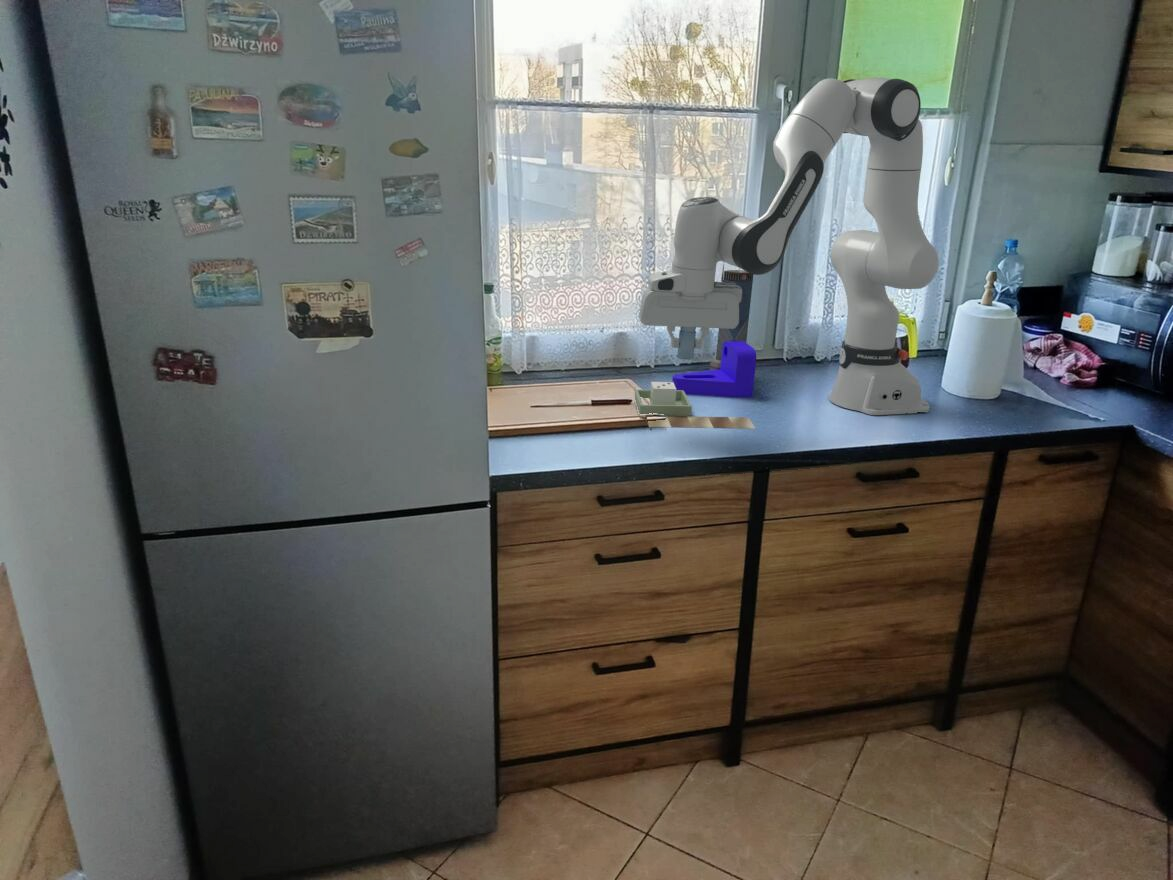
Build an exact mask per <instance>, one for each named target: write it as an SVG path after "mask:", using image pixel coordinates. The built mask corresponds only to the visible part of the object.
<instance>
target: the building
mask: <svg viewBox="0 0 1173 880" xmlns="http://www.w3.org/2000/svg"><path fill="white" fill-rule="evenodd" d="M722 266H723V267H722V273H721V280H720V282H724V283H731V282H732V283H736V285H738V286H740V287H741V289H742V299H741V302H740V303H739V324H738V325H737V327H736V328H734V329H724V328H718V334H717V346H716V353H715V354H716V356H715V359H713V360H710V361H709V370H718V369H720V367H721V356H722V346H723V343H724V342H725V341H744V342H746V343H747V341H748V339H747V338H748V329H749V321H750V311H751V302H752V301H751V300H752V291H753V282H754V274H751V273H749V272H747V271H745V270H743V269H739V270H738V269H728V270H724V269H725V264H722ZM725 288H726V287H725ZM736 288H738V287H736Z"/></svg>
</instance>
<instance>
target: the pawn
mask: <svg viewBox="0 0 1173 880" xmlns="http://www.w3.org/2000/svg"><path fill="white" fill-rule="evenodd" d="M679 328H680V329H679V332H678V338H679V340H680V341H679V348H677V351H676V352H677V353H676V354H677V355H676V357H677V358H678V359H680V360H685V361H686V360H687V361H689V360H694V357H695V339H697V338H696V336H697V331H696V330H697V327H679Z"/></svg>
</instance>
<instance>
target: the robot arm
mask: <svg viewBox="0 0 1173 880" xmlns="http://www.w3.org/2000/svg"><path fill="white" fill-rule="evenodd" d="M921 108H922V107H921V97H920V93H919V90H918V88H917V87H916V86H915V84H913V83H911V82H910V81H907V80H905V79H901V78H888V77H887V78H886V77H868V78H861V79H860V78H859V79H847V80H844V81H843V80H841V79H838V78H834V77H833V78H832V77H830V78H829V77H828V78H824V79H821V80H820V81H818V82H817V83H816V84H815V85H813V87H812V88H811V89H810V90H809V91H808V92H807V93H806V94H805V95H804V96H803V97H802V98H801V99H800V101H799V102H798V103H797V104H796V105H795V106H794V108H793V109H792V111H791V112H790V114H789V115H788V116H787V118H786V119H785V121H784V122H783V123H782V125H781V126H780V128H779V130H778V131H777V133H776V135H775V137H774V140H773V143H772V144H773V145H772V146H773V147H772V150H773V155H774V158H775V161H776V163H777V164H778V165H779V166H780V168H781V169H782V170H783V172H784V179H783V182H782V184H781V186H780V188H779V189H778V191H777V193H776V195H775V196H774V198H773V200H772V201H771V204H770V205H769V207H768V209H767V211H766V212H765V213H764V214H763V215H761V216H760V217H758V218H756V219H754V218H750V217H747V216H743V215H739V214H738V213H736V212H734V211H732V210H730V209H729V208H728V207H726V206H725V205H723V204H722V203H721V202H720V200H719V199H718V198H716V197H712V196H710V197H709V196H704V197H703V196H700V197H699V196H698V197H694V198H690V199H687V200H686V201H684V202H683V203H682V204H681V205H680V207H679V210H678V213H677V216H676V222H675V229H674V236H673V246H674V257H673V259H672V262H671V269H668V270H664V271H661V272H657V273H653V274H650V275H649V276H648V279H647V282H648V287H647V288H646V289H645V290H644V292H643V294H642V298H641V301H640V302H641V303H640V307H639V314H638V315H639V317H638V318H639V320H640V322H641V324H642V325H644V326H654V327H666V330H667V332H668V334H669V336H670V347H671V348H673V349H674V348H675V349H676V348H677V349H678V348H679V341H680V340H679V337H675V335H674V333H673V332H676V327H677V328H680V327H696V328H698V329H699V328H700V331H701V333H700V335H699V336H698V338H695V348H694V350H696V349H700V350H702V349H703V342H704V341H705V339H706V338H707V336H708V335H709V334H710V329H719V328H724V329H734V328H736V327H737V325H738V324H739V303H740V302H741V299H742V289H741V287H740V286H738V285H736V283H732V282H731V283H724V282H722V281H715V280H716V273H717V272H716V271H717V264H718V262H723V263H726V264H728V265H730V266H734V267H737V268H740V270H743V271H747V272H749V273H751V274H754V275H755V276H758V275H759V276H760V275H761V276H762V275H765V274H768V273H770V272H771V271H773V270H774V269H775V268H776V267H777V266H778V265H779V264H780V262H781V260H782V259H783V257H784V255H785V252H786V249H787V246H788V243H789V241H790V238H791V235H792V233H793V230H794V229H795V227H796V225H797V224H798V221H799V219H801V217H802V215H803V213H804V211H805V210H806V208H807V206H808V205H809V203H810V201H811V199H812V197H813V195H814V193H815V192H816V190H817V189H818V186H819V184H820V182H821V179H822V178H823V173H824V170H825V162H826V161H827V158H828V157H829V155H830V154H831V152H832V151H833V149H834V148H835V146H836V145H837V144H838V142H839V140H840V139H841V137H842V135H843V134H850V135H856V136H861V137H867V138H868V140H869V145H870V147H869V153H868V157H867V164H866V172H865V181H864V182H865V183H864V189H863V191H864V192H863V201H862V202H863V206H864V208H865V210H866V211H867V212H868V213H869V215H871V216H872V217H873V218H874V220H875V223H876V226H877V230H878V232H877V231H873V230H872V231H871V230H866V229H860V230H859V229H856V230H848V231H847V230H846V231H844V232H842V233H841V234H839V235H838V236H837V237H836V238H835V239H834V241H833V244H832V245H831V248H830V253H829V254H830V263H831V266H832V268H833V269H834V270H835V271H836V273H837V275H839V278H840V280H841V282H842V284H843V287H844V292H845V296H846V301H847V316H846V325H845V326H846V327H845V335H844V340H843V341H841V342H842V343H841V347H840V351H839V360H838V361H839V364H838V365H839V367H838V372H837V375H836V378H835V381H834V385H833V388H832V390H831V392H830V394H829V396H828V399H829V401H830V402H831V403H833V404H835V405H836V406H838V407H841V408H845V409H848V410H852V411H858V412H861V413H864V414H867V415H870V416H884V415H885V416H886V415H888V416H889V415H904V414H905V415H906V413H907V414H918V413H917V412H925V413H928V412H929V411H930V405H929V403H928V401H927V400H925V399H924V398H923V397H922V388H921V383H920V381H919V380H918V378H917V377H916V376H915V375H914V374H913V373H912V372H911V371H910V370H908V368H907V367H905V366H904V364H902V363H901V362H900V360H902V361H907V360H908V359H909V357H910V353H909V351H906V349H901V348H899V347H898V346H896V338H897V332H898V326H899V321H900V313H899V310H898V308H897V306H895V304H894V303H893V302H892V301H891V300H890V298H889V297H888V296H889V295H888V294H887V291H886V287H890V288H893V289H894V288H895V289H899V290H919V289H923V288H925V287H927V286H928V285H929V284H931V282H932V281H933V280H934V278H935V277H936V275H937V273H938V269H939V265H940V264H939V263H940V259H939V254H938V251H937V249H936V248H935V246H933V245H932V243H931V242H930V240H929V239H928V238H927V236H926V234H925V232H924V230H923V228H922V224H921V220H920V215H919V206H918V205H919V189H920V182H921V173H922V165H923V155H924V154H923V152H924V133H923V125H922V122H921V120H920V119H919V118H920V115H921ZM754 275H753V276H754ZM725 287H726V288H725ZM736 287H738V288H736Z"/></svg>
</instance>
